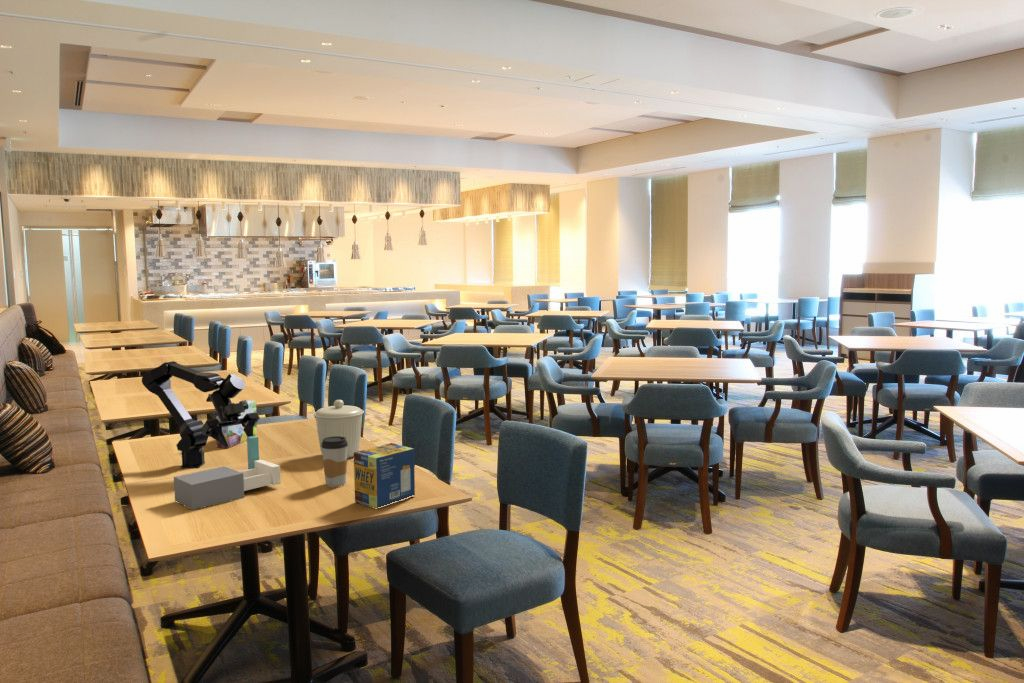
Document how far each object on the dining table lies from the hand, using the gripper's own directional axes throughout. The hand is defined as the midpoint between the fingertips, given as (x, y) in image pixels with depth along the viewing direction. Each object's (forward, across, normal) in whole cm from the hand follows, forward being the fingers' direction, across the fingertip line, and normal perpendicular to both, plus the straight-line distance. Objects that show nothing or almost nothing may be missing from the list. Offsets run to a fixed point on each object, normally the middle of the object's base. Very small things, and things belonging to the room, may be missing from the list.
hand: (240, 444), depth 259 cm
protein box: (+45, +15, -37) cm, 60 cm away
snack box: (-21, +24, +42) cm, 53 cm away
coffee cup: (+29, +15, -18) cm, 38 cm away
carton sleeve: (+19, -20, -6) cm, 28 cm away
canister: (+11, +37, +3) cm, 39 cm away
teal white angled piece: (+16, -8, -5) cm, 19 cm away
